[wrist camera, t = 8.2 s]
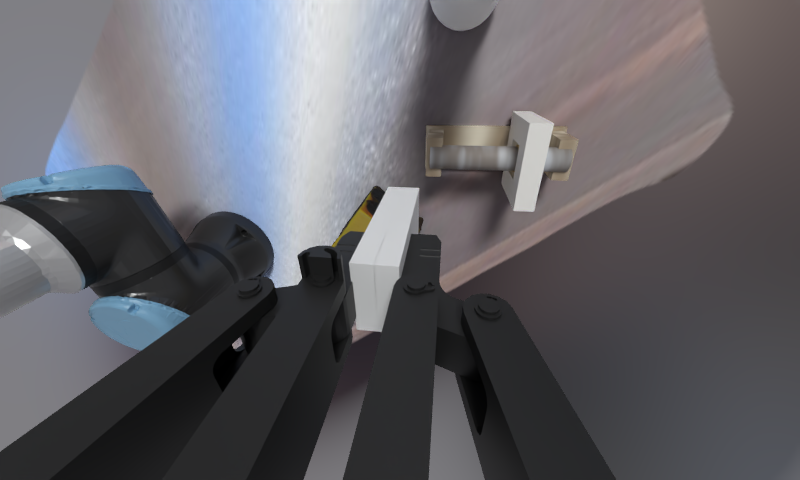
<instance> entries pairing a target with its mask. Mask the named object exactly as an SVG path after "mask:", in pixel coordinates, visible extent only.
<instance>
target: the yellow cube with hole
mask: <svg viewBox="0 0 800 480" xmlns="http://www.w3.org/2000/svg"><path fill="white" fill-rule="evenodd" d="M384 194H385V192H384V191H383V190H382V189H381V188H380V187H378V186H375V187H373V189H372V190H371V191H370V193H369V194H368V195H367V196H366V198H365V199H364V201H363V202H362V203H361V205H360V206H359V207H358V209H357V210H356V211H355V213H354V214H353V216H352V217H351V219H350V220H349V221H348V222H347V224H346V225H345V227H344V228H343V230H342V232H341V233H340V235H339V237H338V238H337V239H336V241H335V242H334V243H333V245H332V247H335V246H336V245H337V243H338V241H339V240H340V238H341V237H342V236H343V235H345V234H347V233H348V232H350V231H357V232H365V231H366V229H367V227H368V225H369V223H370V221H371V219H372V217H373V215H374V214H375V212H376V210H377V208H378V206H379V204H380V202H381V200H382V198H383V196H384ZM422 223H423V218H421V217H419V229H418V233H420V231H421V226H422Z"/></svg>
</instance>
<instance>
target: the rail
mask: <svg viewBox="0 0 800 480" xmlns="http://www.w3.org/2000/svg"><path fill="white" fill-rule="evenodd" d="M567 128H568V127H566V126H553V131H552V135H551V139H550V144H549V148H548V153H547V157H546V161H545V166H544V170H543V172H544V173H545V174H546V175H547V176H548V177H549V179H550V180H560V181H568V178H569V174H570V170H571V167H572V163H573V159H574V156H575V152H576V148H577V145H578V141H579V140H578V139H576V138H574V137H573V136H571V135H569V134H567V133H566V132H567ZM509 132H510V126H453V125H426V155H425V167H426V176H429V177H441V169H464V170H501V171H513V172H515V167H516V161H517V156H518V150H519V145H516V146H507V144H508V138H509Z"/></svg>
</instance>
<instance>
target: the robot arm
mask: <svg viewBox="0 0 800 480" xmlns="http://www.w3.org/2000/svg"><path fill="white" fill-rule="evenodd" d="M1 191H2V197H3V198H4V199H5V200H6V201H3V202H0V318H2V317H4V316H5V315H7V314H9V313H11V312H13V311H15V310H17V309H19V308H20V307H22V306H24V305H26V304H28V303H30V302H31V301H34V300H35V299H37V298H39V297H41V296H43V295H44V294H47V293H77V292H79V291H81V290H83V289H85V288H87V287H88V286H89V287H90V288H91V289H92V290H93V291H94V292H95V293H96V294H97V295H98V296H99V299H97V300H96V301H94V303H93V305H92V306H91V307H90V309H89V316H91V321H92V322H93V324H94V325H95V326H96V327H97V328H98V329H99V330H100V331H102V332H103V333H104V334H106V335H107V336H109V337H110V338H112V339H113V340H115V341H117V342H119V343H121V344H123V345H126V346H128V347H131V348H134V349H137V350H140V351H141V352H139V353H137V354H136V355H135V356H133V357H132V358H131V359H129V360H128V361H126V362H125V363H123V364H122V365H121V366H119V367H118V368H117V369H115V370H114V371H113V372H111V373H109V374H108V375H107V376H105V377H104V378H102V379H101V380H100V381H98V382H97V383H96V384H94V385H93V386H91V387H90V388H89V389H87V390H86V391H84V392H83V393H82V394H80V395H79V396H77V397H76V398H75V399H73V400H72V401H70V402H69V403H68V404H66V405H65V406H63V407H62V408H61V409H59V410H58V411H56V412H55V413H54V414H52V415H51V416H50V417H48V418H47V419H45V420H44V421H43V422H41V423H40V424H38V425H37V426H36V427H34V428H33V429H31V430H30V431H29V432H27V433H26V434H24V435H23V436H22V437H20V438H19V439H17V440H16V441H14V442H13V443H12V444H10V445H9V446H8V447H6V448H5V449H3V450H2V451H1V452H0V480H303V479H304V476H305V474H306V471H307V468H308V465H309V462H310V459H311V457H312V454H313V451H314V448H315V445H316V442H317V440H318V437H319V434H320V431H321V428H322V426H323V423H324V420H325V417H326V414H327V411H328V408H329V406H330V403H331V400H332V397H333V394H334V392H335V389H336V386H337V383H338V380H339V378H340V375H341V372H342V369H343V366H344V363H345V360H346V358H347V355H348V352H349V349H350V346H351V344H352V337H353V336H352V326H353V323H354V321H355V319H356V327H357V329H358V330H367V331H377V332H382V333H381V337H380V340H379V344H378V348H377V352H376V355H375V359H374V363H373V367H372V371H371V374H370V378H369V383H368V386H367V390H366V393H365V398H364V401H363V405H362V409H361V413H360V417H359V420H358V424H357V428H356V432H355V435H354V439H353V443H352V447H351V451H350V455H349V459H348V462H347V466H346V470H345V473H344V477H343V480H428V478H429V459H430V442H431V423H432V405H433V387H434V369H435V364H436V365H438V366H440V367H443V368H445V369H448V370H450V371H452V372H454V373H455V375H456V380H457V383H458V387H459V390H460V394H461V397H462V401H463V404H464V407H465V411H466V415H467V418H468V421H469V425H470V429H471V432H472V436H473V439H474V443H475V446H476V450H477V453H478V457H479V460H480V464H481V467H482V471H483V474H484V478H485V480H616V478H615V477H614V475H613V474H612V472H611V470H610V469H609V467H608V465H607V464H606V462H605V460H604V459H603V457H602V455H601V454H600V452H599V450H598V449H597V447H596V445H595V444H594V442H593V440H592V439H591V437H590V435H589V434H588V432H587V430H586V429H585V427H584V425H583V424H582V422H581V421H580V419H579V418H578V416H577V414H576V412H575V411H574V409H573V407H572V406H571V404H570V402H569V401H568V399H567V398H566V396H565V394H564V392H563V391H562V389H561V387H560V386H559V384H558V382H557V381H556V379H555V378H554V376H553V374H552V372H551V371H550V369H549V368H548V366H547V364H546V363H545V361H544V359H543V358H542V356H541V354H540V353H539V351H538V349H537V348H536V346H535V345H534V343H533V341H532V339H531V338H530V336H529V334H528V333H527V331H526V329H525V328H524V326H523V325H522V323H521V321H520V320H519V318H518V316H517V315H516V313H515V311H514V310H513V308H512V307H511V306H510V305H509V304H508V302H506V301H505V300H503V299H501V298H500V297H497V296H494V295H491V294H476V295H472V296H470V297H469V298H467V299H466V300H465V301H462V300H459V299H456V298H453V297H451V296H450V295H448V294H447V293H445V292H444V291H443V290H442V288H441V286H440V283H439V274H440V255H441V241H440V240H439V238H438V237H437V236H436V235H424V234H418V229H419V188H408V187H388V188H387V190H386V192H385V194H384V196H383V198H382V200H381V202H380V204H379V206H378V208H377V210H376V212H375V214H374V215H373V217H372V219H371V221H370V223H369V225H368V227H367V229H366V231H365V232H357V231H350V232H348V233H347V234H345V235H343V236H342V237H341V238H340V240H339V241H338V243H337V245H336V246H335V247H332V246H316V247H312V248H309V249H307V250H304V251H302V252H301V253H300V254H299V255H298V260H299V265H300V269H301V274H302V280H301V281H300V282H299V284H298V285H295V286H289V287H281V288H275V287H274V284H273V282H272V280H271V279H269V278H267V277H262V276H263V275H264V274H265V273H266V272H267V271H268V270H269V269H270V267H271V265H272V263H273V250H272V246H271V244H270V241H269V240H268V238H267V236H266V235H265V234H264V232H263V231H262V230H261V229H260V228H259V227H258V226H257V225H256V224H254V223H253V222H252V221H250V220H249V219H247V218H245V217H243V216H241V215H238V214H235V213H232V212H216V213H213V214H211V215H209V216H207V217H206V218H204V219H202V220H201V221H200V222H199V223H198V224H197V225H196V226H195V228H194V230H193V232H192V233H191V234H190V236H189V237H188V239H187V240H186V241H185V242H184V240H183V239H182V237H181V236H180V234H179V233H178V231H177V230H176V229H175V227H174V226H173V224H172V223H171V221H170V220H169V219H168V217H167V216H166V214H165V213H164V211H163V210H162V208H161V207H160V206H159V204H158V203H157V201H156V200H155V198H154V197H153V196H152V195H153V193H152V191H151V190H149V189H147V187H146V186H145V185H144V183H143V182H142V181H141V180H140V178H139V177H138V176H137V174H136V173H135V172H134V171H133V170H131V169H130V168H127V167H125V166H121V165H104V166H96V167H88V168H82V169H76V170H70V171H64V172H59V173H54V174H51V175H48V176H41V177H36V178H30V179H25V180H21V181H18V182H14V183H11V184H8V185H5V186H3V187H2V188H1ZM239 337H240V338H241V340H242V343H243V344H242V345H241V346H240V347H238V348H237V349H233V346H232V344H233V343H234V342H235V341H236V340H237V339H238V338H239Z"/></svg>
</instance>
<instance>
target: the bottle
mask: <svg viewBox="0 0 800 480" xmlns="http://www.w3.org/2000/svg"><path fill="white" fill-rule="evenodd" d="M498 1H499V0H430V3H431V6H432V10H433V12H434V14H435V16H436V17H437V19H438V20H439V21H440V22H441V23H442V24H443V25H444V26H445V27H447V28H450V29H452V30H456V31H465V30H470V29H473V28H475V27H477V26H478V25H480V24H481V23H482V22H484V21H485V20H486V19H487V18H488V17H489V15H490V14H491V13H492V11H493V10H494V8H495V7H496V6H497V3H498Z"/></svg>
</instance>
